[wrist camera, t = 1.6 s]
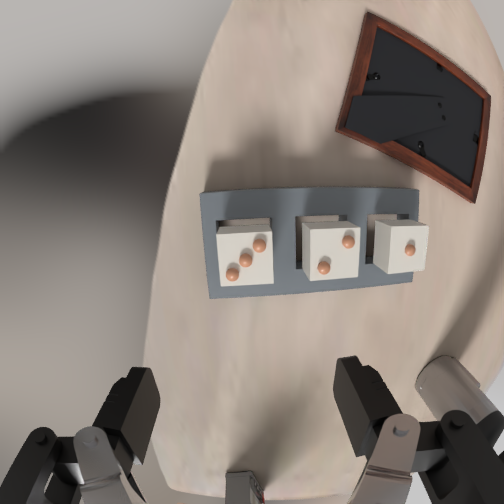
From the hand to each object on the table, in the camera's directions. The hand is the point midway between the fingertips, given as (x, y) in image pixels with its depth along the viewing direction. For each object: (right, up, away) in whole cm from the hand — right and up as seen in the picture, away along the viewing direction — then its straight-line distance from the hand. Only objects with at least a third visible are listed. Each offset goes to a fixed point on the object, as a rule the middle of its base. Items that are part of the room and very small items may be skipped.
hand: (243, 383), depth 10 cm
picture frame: (+25, +26, +20) cm, 41 cm away
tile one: (+17, +7, +20) cm, 27 cm away
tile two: (+8, +6, +20) cm, 22 cm away
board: (+8, +7, +23) cm, 26 cm away
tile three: (0, +6, +20) cm, 20 cm away
